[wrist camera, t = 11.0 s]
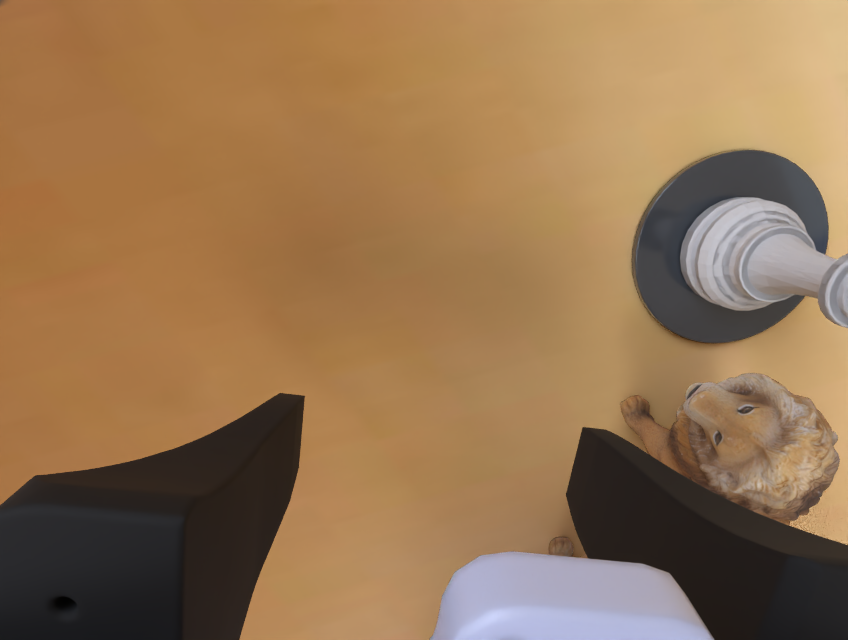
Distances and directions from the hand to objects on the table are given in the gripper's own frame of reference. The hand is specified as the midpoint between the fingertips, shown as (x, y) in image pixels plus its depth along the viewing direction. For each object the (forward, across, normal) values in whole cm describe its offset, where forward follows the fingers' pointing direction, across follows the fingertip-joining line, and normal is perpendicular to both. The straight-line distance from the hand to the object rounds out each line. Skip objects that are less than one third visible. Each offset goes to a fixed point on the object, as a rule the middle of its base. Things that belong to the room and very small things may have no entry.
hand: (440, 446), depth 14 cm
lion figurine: (+10, -10, +5) cm, 15 cm away
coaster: (+10, -12, -5) cm, 16 cm away
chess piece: (+10, -12, -5) cm, 16 cm away
